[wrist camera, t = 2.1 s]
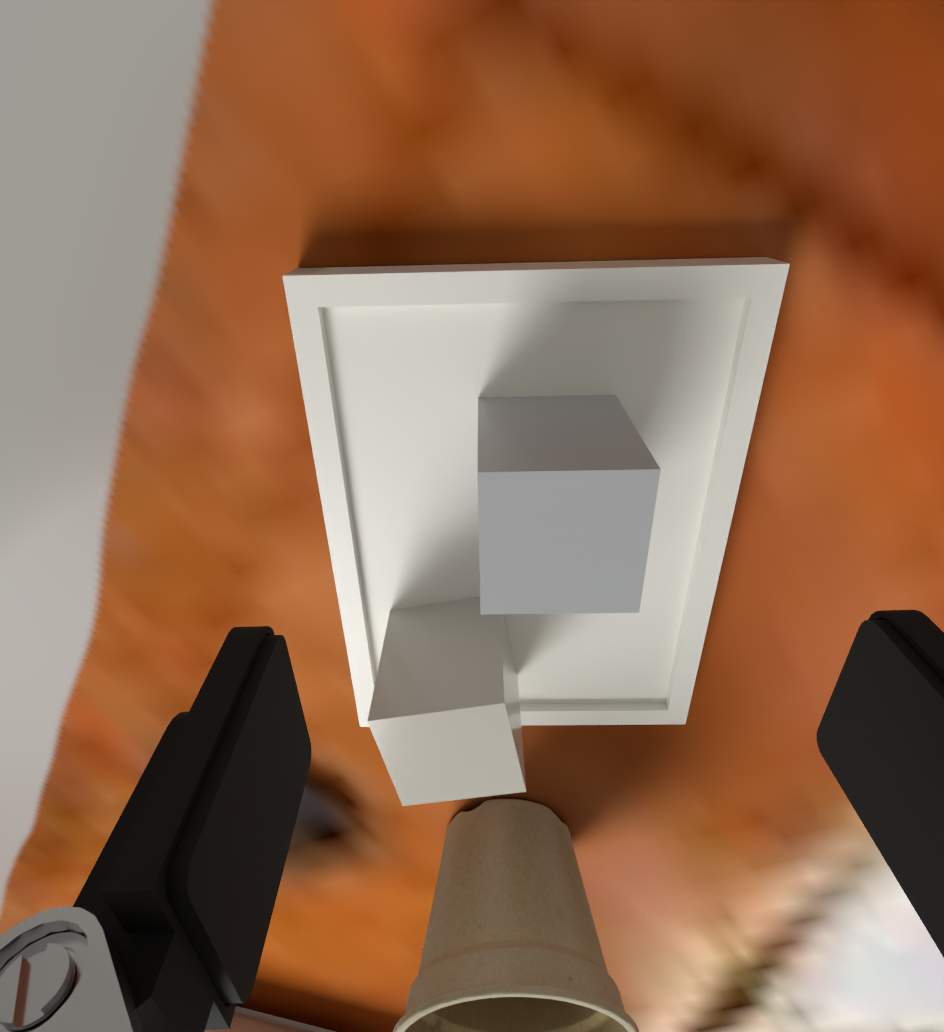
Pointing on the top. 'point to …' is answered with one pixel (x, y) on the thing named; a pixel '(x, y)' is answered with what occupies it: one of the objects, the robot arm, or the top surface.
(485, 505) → the grey block
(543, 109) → the top surface
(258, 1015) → the tray
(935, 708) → the robot arm
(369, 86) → the top surface
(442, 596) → the white dish
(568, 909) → the flower pot
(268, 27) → the top surface
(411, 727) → the beige block
